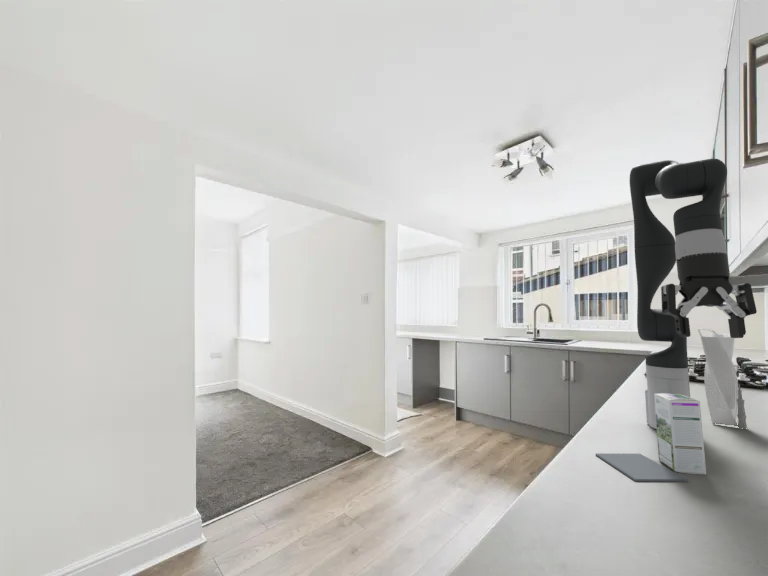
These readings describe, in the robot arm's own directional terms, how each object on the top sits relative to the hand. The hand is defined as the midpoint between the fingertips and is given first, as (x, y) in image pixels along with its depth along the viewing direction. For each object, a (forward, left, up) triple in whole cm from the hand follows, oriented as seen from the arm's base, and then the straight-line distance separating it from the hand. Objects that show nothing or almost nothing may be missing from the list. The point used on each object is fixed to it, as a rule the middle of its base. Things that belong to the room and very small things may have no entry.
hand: (710, 337), depth 65 cm
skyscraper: (-36, +37, -28) cm, 58 cm away
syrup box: (-7, -1, -27) cm, 28 cm away
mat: (-7, -10, -27) cm, 30 cm away
